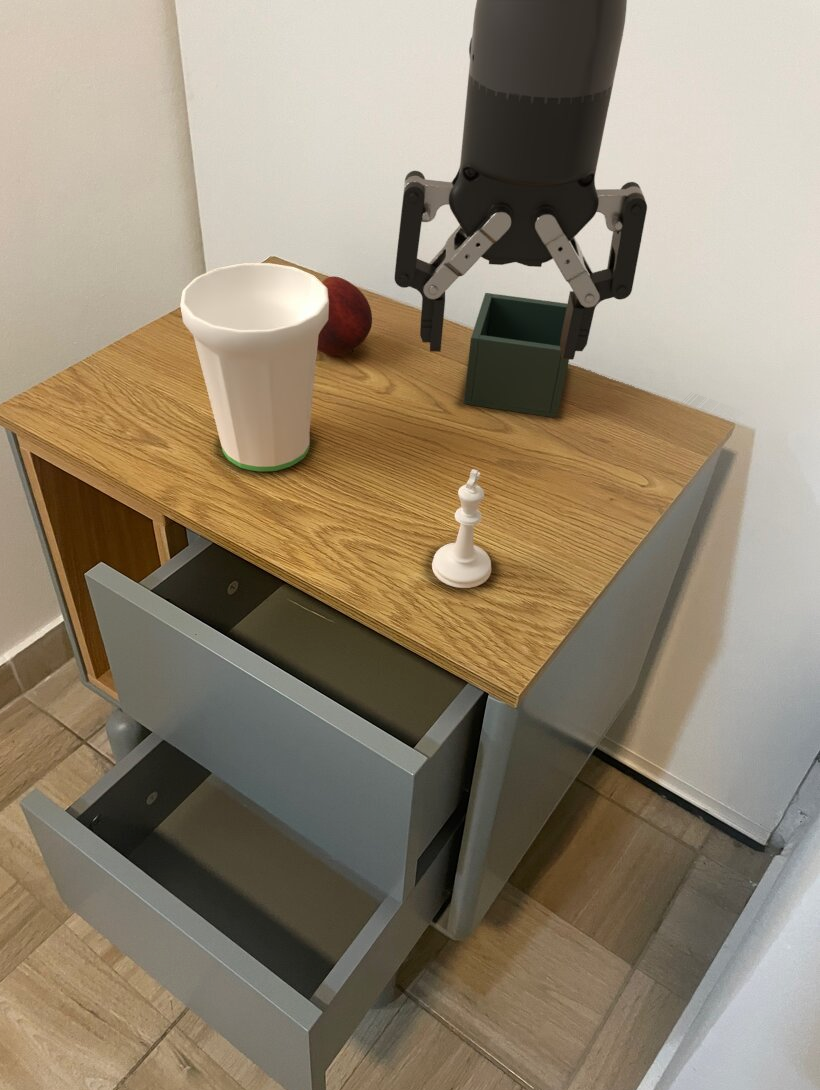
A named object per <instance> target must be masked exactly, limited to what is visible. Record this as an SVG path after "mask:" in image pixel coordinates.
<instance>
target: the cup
mask: <svg viewBox="0 0 820 1090" xmlns="http://www.w3.org/2000/svg"><path fill="white" fill-rule="evenodd" d="M179 305H180V306H179V307H180V310H181V312H180V313H181V319H182V323H183V324H184V326H185V327H186V328H187V330H188V331H189V332H190V333H191V335H192V336H193V340H194V343H195V344H194V345H195V348H196V353H197V355H198V359H199V363H200V368H201V372H202V377H203V379H204V383H205V387H206V390H207V394H208V398H209V403H210V407H211V410H212V415H213V418H214V422H215V427H216V430H217V434H218V438H219V441H220V445H221V451H222V453H223V454H224V456H225V457H226V459H227V460H228V461H229V462H230V463H232V464H233V465H234V466H236V467H238V468H241V469H244V470H248V471H253V472H278V471H281V470H284V469H287V468H290V467H292V466H294V465H296V464H298V463H299V462H301V461H302V460H303V459H304V458H305V457H306V456H307V454H308V452H309V450H310V443H311V442H310V440H311V439H310V438H311V436H310V431H311V430H310V429H311V419H312V408H313V397H314V387H315V376H316V366H317V357H318V356H317V355H318V349H317V346H318V335H319V333H320V331H321V330H322V328H323V327H324V325H325V324H326V322H327V321H328V313H329V299H328V289H327V288H326V287H325V286H324V285H323V284H322V281H321V280H319V278H317V277H316V276H315V275H313V274H311V273H309V272H307V271H305V270H302V269H300V268H297V267H295V266H290V265H284V264H277V263H272V262H246V263H245V262H244V263H243V262H241V263H237V264H232V265H231V264H230V265H227V266H222V267H217V268H214V269H212V270H210V271H207V272H205V273H203V274H201V275H199V276H196V277H195V278H194V279H192V280H191V281H190V283H189V284H187V286H185V288H184V289H183V290H182V292H181V298H180V304H179Z"/></svg>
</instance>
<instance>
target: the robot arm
mask: <svg viewBox="0 0 820 1090" xmlns="http://www.w3.org/2000/svg"><path fill="white" fill-rule="evenodd" d="M627 4H628V0H476V4H475V9H474V14H473V15H474V16H473V23H472V33H471V38H470V41H469V47H468V54H469V67H468V78H467V87H466V98H465V109H464V110H465V111H464V120H463V131H462V142H461V151H460V163H459V167H458V170H457V172H456V175H455V177H454V178H453V180H452V181H442V180H433V179H426V178H425V175H424V174H423V172H421V171H419V170H412V171H409V172H408V173H407V174H406V176H405V178H404V184H403V185H404V186H403V194H402V202H401V213H400V221H399V230H398V231H399V232H398V239H397V240H398V241H397V249H396V258H395V268H394V269H395V270H394V282H395V284H396V285H397V286H398V287H400V288H403V289H405V288H412V289H414V290H416V291H417V292H419V294H420V295H421V297H422V300H421V314H420V328H419V335H420V339H421V341H422V343H429V352H433V353H434V352H435V353H440V352H442V351H441V349H442V341H443V330H444V329H443V328H444V317H445V309H446V308H445V307H446V291H447V290H448V289H449V288H450V287H451V286H452V285H453V284H454V282H456V280H457V279H459V278H460V277H463V276H465V274H466V273H468V271H469V270H470V269H471V268H472V267H473V266H474V265H475V264H476V263H477V262H478V261H479V259H480V258H482V259H484V260H486V261H488V265H496V266H497V265H498V266H503V265H509V264H513V263H516V264H520V265H523V266H525V267H526V266H527V267H533V268H534V267H537V268H541V267H542V264H545V263H547V262H550V261H551V260H553V261H554V263H555V265H556V267H557V268H558V269H559V272H560V273H561V275H562V278H564V280H565V281H566V282H567V283H568V284H569V287H570V288H571V289H572V290H569V294H568V300H567V303H566V304H567V309H566V314H565V319H564V324H563V329H562V334H561V340H560V351H561V356H562V359H569V360H574V359H575V356H576V352H583V351H584V350H585V348H586V346H587V345H588V342H589V336H590V332H591V327H592V323H593V319H594V314H595V310H596V307H597V306H598V304H600V303H601V302H602V301H605V300H608V299H613V298H614V299H616V300H619V301H620V300H625V299H627V298H628V297H630V295H631V294H632V292H633V286H634V281H635V276H636V270H637V265H638V260H639V254H640V249H641V244H642V238H643V234H644V229H645V221H646V217H647V210H648V204H647V201H646V198H645V196H644V192H643V190H642V189H641V186H640V185H639V184H638V183H637V182H635V181H628V182H626V183H625V184H623V185H622V186H621V188H609V189H608V188H607V189H606V188H605V189H603V188H602V189H597V188H596V181H595V180H596V174H597V173H596V172H597V167H598V163H599V158H600V152H601V147H602V143H603V137H604V131H605V126H606V121H607V117H608V112H609V108H610V102H611V96H612V93H613V87H614V82H615V78H616V72H617V68H618V67H617V66H618V63H619V57H620V52H621V46H622V41H623V38H624V37H623V36H624V32H625V31H624V30H625V24H626V17H627V16H626V15H627V6H628V5H627ZM445 205H447V206H449V208H450V211H451V213H452V215H453V216H454V218H455V220H456V221H457V222H458V224H459V225H458V227H456V229H455V230H454V231H453V232H452V234H450V235H449V237H448V238H447V240H446V241H445V244H444V246H443V247H442V248H441V249H440V250H439V251H438V253H436V254H435V256H434V257H433V258H432V259H431V260H430V262H427V261H425V260H421V259H420V258H418V254H419V253H418V252H419V245H420V237H421V229H422V223H430V222H432V221H433V220H434V219H435V218H436V215H437V212H438V210H439V209H440V208H441V207H443V206H445ZM597 213H600V214H602V215H603V217H604V218H603V219H604V221H605V225H606V228H607V229H608V230H609V231H611V232H612V236H611V244H610V249H609V255H608V261H607V266H606V267H607V268H606V269H602V270H598V271H594V272H593V270H592V268H591V266H590V264H589V262H588V261H587V259H586V258H585V257H586V256H585V255H584V254H583V252H582V249H581V247H580V245H579V243H578V241H577V239H576V236H577V235H578V234H579V233H580V231H582V230H583V229H584V227H586V226H587V225H588V223H590V221H591V220H592V219H593V218H594V217H595V215H596V214H597Z"/></svg>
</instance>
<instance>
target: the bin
mask: <svg viewBox="0 0 820 1090" xmlns="http://www.w3.org/2000/svg"><path fill="white" fill-rule="evenodd" d="M567 304H568V303H566V302H559V301H551V300H542V299H535V298H529V297H522V296H521V297H520V296H512V295H505V294H498V293H490V292H485V293H484V296H483V299H482V302H481V305H480V308H479V311H478V314H477V317H476V320H475V324H474V327H473V330H472V333H471V336H470V343H469V344H470V345H469V353H468V359H467V360H468V361H467V369H466V377H465V378H466V379H465V386H464V393H463V394H464V395H463V405H470V406H476V407H482V408H489V409H495V410H502V411H507V412H508V411H509V412H515V413H523V414H529V415H535V416H541V417H548V418H555V419H557V418H558V415H559V411H560V405H561V401H562V396H563V391H564V386H565V381H566V376H567V371H568V367H569V362H570V359H562V356H561V351H560V340H561V334H562V329H563V324H564V319H565V314H566V309H567Z"/></svg>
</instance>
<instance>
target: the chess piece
mask: <svg viewBox="0 0 820 1090" xmlns="http://www.w3.org/2000/svg"><path fill="white" fill-rule="evenodd" d="M480 478H481V472H479V470H477V469H474V468H472V469H471V471H470V474H469V478H468V480H467V482H466V483H465V484H463V485H461V486H460V487H459V489H458V491H457V495H458V499H459V502H460V506H461V507H459V508H457V509H456V511H455V513H454V519H455V521H456V522H457V523H458V524H460V526H459V530H458V533H457V537H456V539H455V542H450V543H447V544H444V545H442V546H441V547H440V548H438V550H436V551H435V553H434V556H433V559H432V561H431V568H432V571H433V575H434V576H435V577H436V578H437V579H438V580H439V581H441V582H442V583H444V584H445V585H447V586H449V587H453V588H457V589H470V588H475V587H478V586H480V585H482V584H484V583H485V582H487V580H488V579H489V578H490V576H491V574H492V561H491V558H490V556H489V555H488V553H487V552H486V551H485V550H484V549H482V548H481V547H479V546H477V545H475V543H474V542H475V539H474V529H475V528H474V526H476V525H478V524H480V523H481V521H482V520H483V519H482V518H483V516H482V513H481V511H480V510H479V509H478V508H479V506H480V504H481V503H482V501H483V499H484V497H485V490H484V489H483V488H482V487H481V486H480V485H478V484H477V482H478V481H479V479H480Z"/></svg>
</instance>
